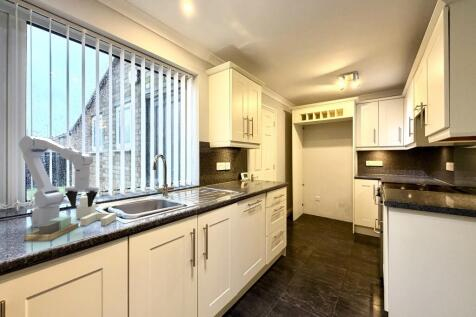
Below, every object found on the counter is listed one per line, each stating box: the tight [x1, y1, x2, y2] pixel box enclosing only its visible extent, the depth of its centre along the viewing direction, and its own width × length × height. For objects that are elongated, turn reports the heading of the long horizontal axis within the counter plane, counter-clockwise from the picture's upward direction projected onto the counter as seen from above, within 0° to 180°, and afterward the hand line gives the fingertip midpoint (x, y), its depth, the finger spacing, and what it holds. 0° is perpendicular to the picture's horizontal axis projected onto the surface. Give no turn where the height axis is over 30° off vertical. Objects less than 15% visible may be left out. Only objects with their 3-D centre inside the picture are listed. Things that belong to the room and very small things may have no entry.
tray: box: [23, 222, 80, 242], centre depth 89 cm, size 10×16×2 cm, turn 5°
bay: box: [79, 212, 117, 226], centre depth 105 cm, size 12×10×4 cm
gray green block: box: [38, 216, 72, 235], centre depth 90 cm, size 5×12×5 cm, turn 5°
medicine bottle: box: [75, 194, 96, 220], centre depth 114 cm, size 7×7×12 cm
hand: (81, 206), depth 100 cm, fingers open, 7 cm apart
